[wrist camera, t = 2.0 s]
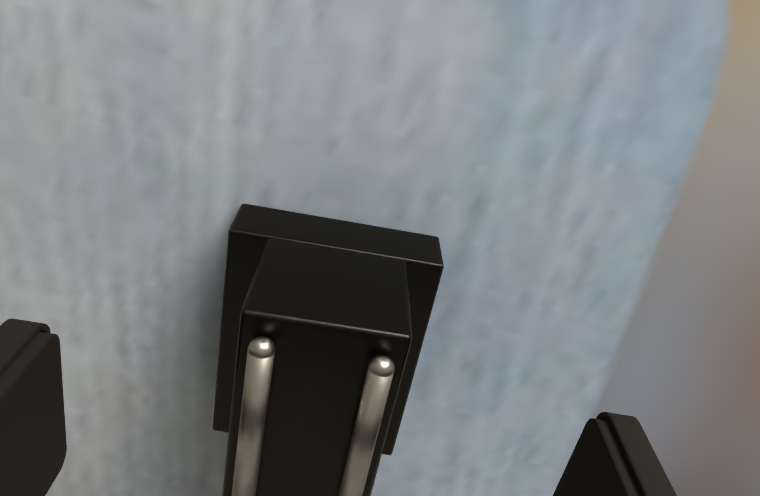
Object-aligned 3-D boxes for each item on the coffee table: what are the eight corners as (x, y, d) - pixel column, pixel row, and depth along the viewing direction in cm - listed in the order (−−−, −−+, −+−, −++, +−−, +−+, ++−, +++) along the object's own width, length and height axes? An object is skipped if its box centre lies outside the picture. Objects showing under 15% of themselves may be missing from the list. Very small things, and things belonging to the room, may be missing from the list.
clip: (241, 202, 12) (183, 318, 9) (439, 236, 12) (461, 361, 9) (224, 393, 14) (173, 547, 11) (390, 418, 15) (393, 574, 11)
